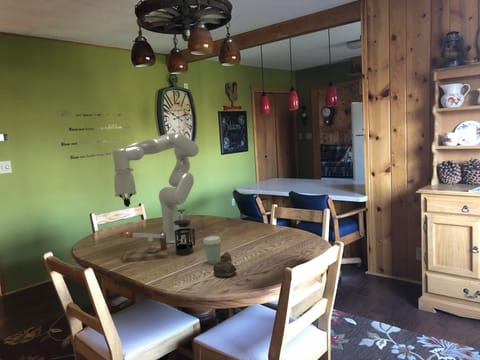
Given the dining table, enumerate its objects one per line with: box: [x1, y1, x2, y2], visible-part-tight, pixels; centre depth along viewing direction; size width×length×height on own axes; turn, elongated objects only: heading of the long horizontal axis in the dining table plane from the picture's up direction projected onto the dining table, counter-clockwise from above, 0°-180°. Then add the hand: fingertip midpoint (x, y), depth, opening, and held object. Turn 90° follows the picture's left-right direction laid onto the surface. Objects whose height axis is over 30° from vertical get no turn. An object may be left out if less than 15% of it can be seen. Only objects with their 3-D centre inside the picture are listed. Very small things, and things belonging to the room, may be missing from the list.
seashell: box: [212, 251, 237, 278], centre depth 163 cm, size 11×12×10 cm
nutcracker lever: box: [119, 231, 165, 242], centre depth 193 cm, size 22×3×4 cm, turn 100°
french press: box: [173, 209, 196, 256], centre depth 197 cm, size 12×9×23 cm
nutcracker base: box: [122, 232, 169, 263], centre depth 194 cm, size 22×12×11 cm, turn 99°
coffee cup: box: [202, 235, 222, 265], centre depth 180 cm, size 8×8×12 cm
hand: (127, 206), depth 198 cm, fingers closed
